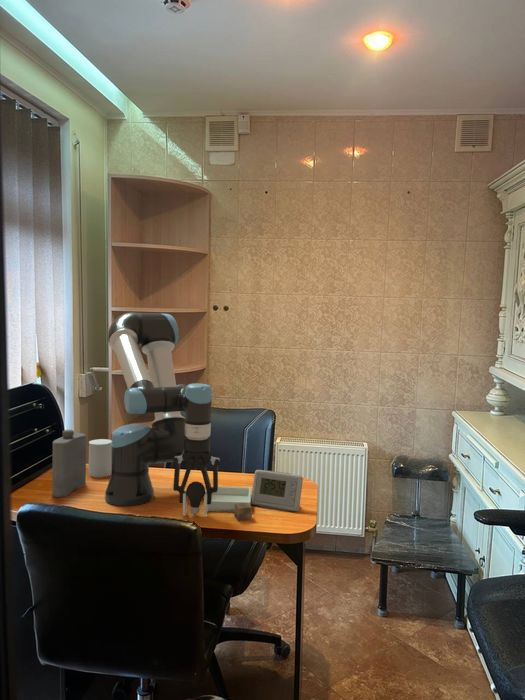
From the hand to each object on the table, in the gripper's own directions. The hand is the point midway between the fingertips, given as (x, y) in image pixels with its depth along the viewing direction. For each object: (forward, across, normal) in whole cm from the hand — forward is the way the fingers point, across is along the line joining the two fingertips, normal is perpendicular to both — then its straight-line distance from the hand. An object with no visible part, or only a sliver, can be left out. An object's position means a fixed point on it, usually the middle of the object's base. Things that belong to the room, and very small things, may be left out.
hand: (195, 513), depth 154 cm
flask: (+2, -45, +20) cm, 49 cm away
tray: (+1, +9, +12) cm, 15 cm away
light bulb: (+1, 0, 0) cm, 1 cm away
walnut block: (+1, +14, 0) cm, 14 cm away
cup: (+2, -40, +38) cm, 55 cm away
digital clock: (+1, +24, +10) cm, 26 cm away
